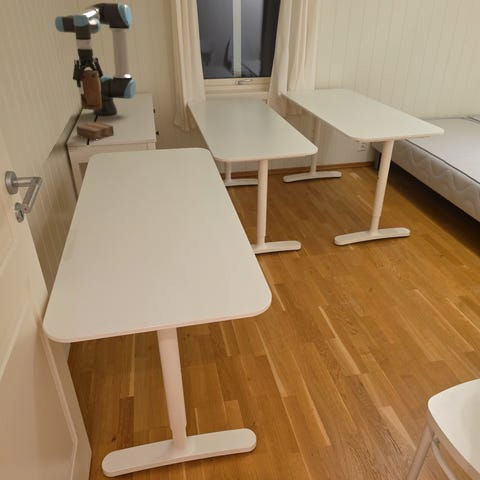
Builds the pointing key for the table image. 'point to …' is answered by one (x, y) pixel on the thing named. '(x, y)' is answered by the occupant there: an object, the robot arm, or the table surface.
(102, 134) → the walnut base
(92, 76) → the block
